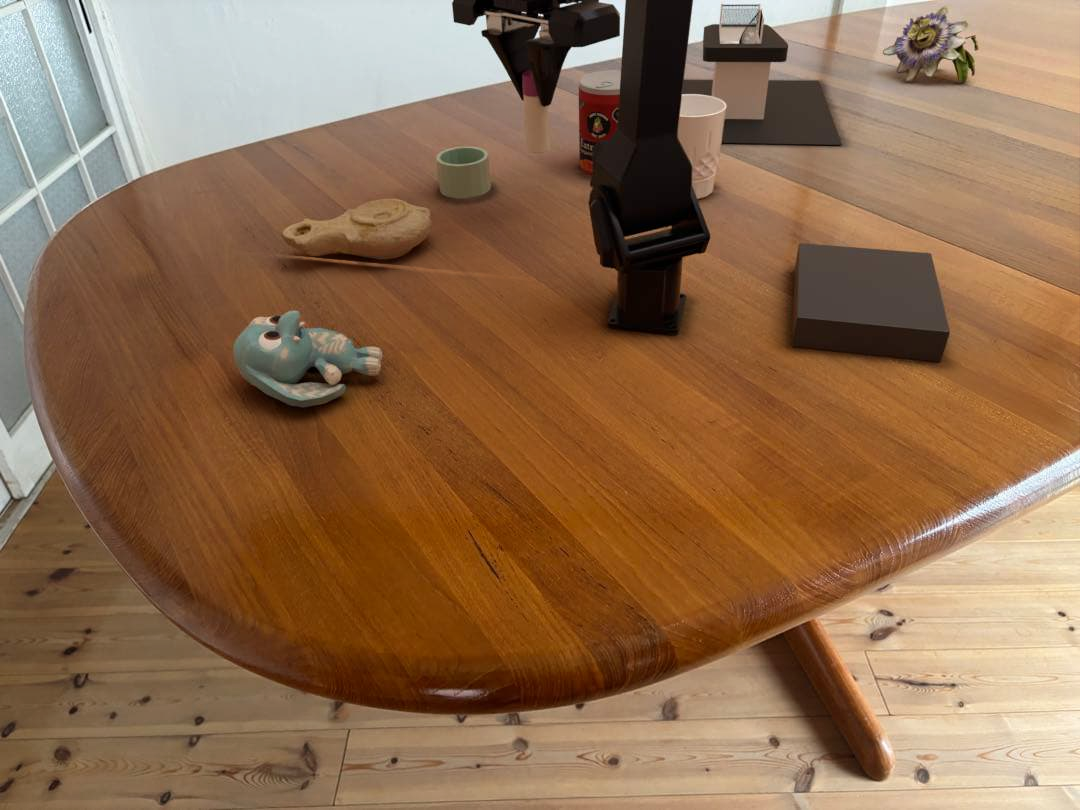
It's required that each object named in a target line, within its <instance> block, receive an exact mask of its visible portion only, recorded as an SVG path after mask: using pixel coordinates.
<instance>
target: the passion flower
mask: <svg viewBox="0 0 1080 810" xmlns="http://www.w3.org/2000/svg"><path fill="white" fill-rule="evenodd" d="M948 17H949V7H948V6H947V5H944V6H942V7H940V8H939V9H938V11H937V12H935V13H934V12H931V13H929V14H928V13H927V14H926V16H922V15H920V16H917V17H916V19H915V20H914V18H910V19H909V24H908V23H907V24H905V26H906V27H903V28H902V30H903V31H902V36H897V37H896V39H895V42H894V44H893V45H890V46H888V47H886V48H884V49H883V51H882V54H883V55H885V56H888V57H889V56H890V57H891V56H895V55H896V57H897V59H898V60H899V63H898V65H897V67H896V74H904V73H905V74H906V76H905V82H906V83H910V82H911V83H912V82H913V81H914V80H915V79H917V77H918V75H919V73H920V71H921V70H923V73H924V76H926V77H927V78H928V79H929V78H932V77H933V76H935V75H936V74H937V71H938V70H939V64H940V63H941V61H942V60H948V61H952V63H953V67H954V69H955V72H956V77H957V80H958V82H959V83H961V84H962V85H964V84H965V83H966V82H967V79H968V76H969V70H970V71H971V76H972V77H974V76H975V75H976V65H975V59H974V57H973V56H972V54H971V53H970V52H969V50H967V49H966V48H964V44H966V43H967V42H966V41H967V40H968V39H971V41H972V42H973V44H974V51H975V52H976V51H978V50H979V49H980V46H979V42H978V39H977V35H976V34H973V35H971V36H966V37H961V36H958V34H959V33H961V32H963V31H965V30H966V29H967V28H968V26H969V20H964V21H956V22H951V21H949V22H948Z"/></svg>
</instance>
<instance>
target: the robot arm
mask: <svg viewBox="0 0 1080 810" xmlns="http://www.w3.org/2000/svg"><path fill="white" fill-rule="evenodd" d="M564 4H565V5H564ZM561 5H564V6H561ZM693 5H694V0H625V4H624V17H623V18H624V20H623V21H624V22H623V35H622V50H621V65H620V70H621V79H620V94H619V109H618V124H617V129H616V131H615V133H614V134H613V136H612V137H611V139H607V140H602V141H597V142H596V144H595V146H594V149H593V152H592V160H593V171H592V175H591V179H590V182H589V186H590V188H591V190H590V193H589V197H588V198H589V200H588V209H589V215H590V223H591V228H592V234H593V241H594V246H595V249H596V254H597V255H598V256H599V265H600V266H601V267H603V268H607V269H611V270H612V269H614V270H615V271H616V272H617V277H616V281H617V282H616V296H615V299H614V300H613V304H612V306H611V308H610V312H609V315H608V318H607V322H606V323H607V327H609V328H613V329H614V328H615V329H624V330H633V331H643V332H651V333H661V334H670V335H676V334H678V333H679V332H680V329H681V324H682V320H683V317H684V312H685V309H686V308H685V307H686V303H687V298H688V297H687V295H686V294H684V293H681V287H682V286H681V285H682V271H683V262H684V261H683V259H684V258H686V257H690V256H693V255H703V254H705V253H706V251H707V248H708V245H709V243H710V240H711V233H710V230H709V227H708V225H707V222H706V219H705V216H704V213H703V211H702V209H701V206H700V203H699V199H697V197H696V194H695V192H694V189H693V186H692V164H691V162H690V160H689V158H688V156H687V154H686V152H685V150H684V148H683V146H682V144H681V143H680V141H679V139H678V125H679V116H680V108H681V99H682V91H683V82H684V80H685V73H686V64H687V56H688V47H689V39H690V30H691V23H692V13H693ZM451 7H452V18H453V23H455V24H461V25H465V26H472V25H475V23H476V22H477V20H478V19H479V18H480V17H483V16H485V24H486V29H482V30H480V33H481V36H482V37H483V38H485V39H486V40H487V41H488V43H489V44H490V46H491V48H492V49H493V51H494V53H495V54H496V56H497V58H498V59H499V61H500V62H501V64H502V66H503V68H504V69H505V71H506V73H507V75H508V77H509V79H510V81H511V83H512V84H513V87H514V88H515V90H516V92H517V95H518V96H519V98H520V100H521V101H522V102H524V96H523V87H522V73H523V72H525V71H529V70H532V73H533V77H534V82H535V86H536V90H537V94H538V97H539V100H540V103H541V106H543V107H545V106H548V105H549V106H550V105H551V104H552V102H553V98H554V95H555V91H556V89H557V86H558V81H559V79H560V76H561V73H562V69H563V66H564V63H565V62H566V58H567V56H568V54H569V52H570V50H571V49H572V48H584V47H588V46H591V45H594V44H598V43H601V42H605V41H608V40H612V39H614V38H618V37H620V36H621V13H620V12H619V10H618V9H617V8H616V6H615V5H614V4H612V3H606V2H600V0H452V2H451ZM539 29H540V30H539ZM538 33H539V34H538ZM537 34H538V36H539V37H536V36H537ZM668 227H671V228H668ZM664 228H666V229H664ZM659 229H663V230H660V231H659ZM656 230H658V231H656ZM651 231H656V232H651ZM647 232H651V233H647ZM644 233H647V234H644ZM640 234H643V235H640ZM635 235H638V236H635ZM631 236H635V237H631ZM627 237H630V238H627Z"/></svg>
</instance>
